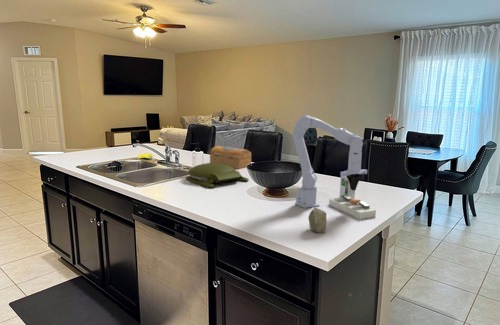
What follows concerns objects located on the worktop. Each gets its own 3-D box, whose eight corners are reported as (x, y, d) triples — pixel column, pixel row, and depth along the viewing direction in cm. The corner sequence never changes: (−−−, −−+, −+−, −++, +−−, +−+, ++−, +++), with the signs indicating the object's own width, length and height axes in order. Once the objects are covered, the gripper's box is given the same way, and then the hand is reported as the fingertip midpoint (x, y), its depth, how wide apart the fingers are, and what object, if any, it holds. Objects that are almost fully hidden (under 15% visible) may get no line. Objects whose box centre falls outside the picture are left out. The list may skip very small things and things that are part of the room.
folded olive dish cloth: (250, 181, 217) (250, 166, 215) (209, 189, 198) (209, 173, 196) (218, 172, 243) (218, 158, 241) (179, 178, 224) (179, 163, 222)
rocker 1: (356, 203, 161) (356, 200, 161) (349, 202, 165) (349, 199, 165) (360, 202, 162) (360, 199, 162) (354, 201, 166) (353, 199, 166)
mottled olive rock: (315, 239, 135) (312, 219, 131) (303, 229, 143) (300, 209, 138) (334, 229, 138) (332, 209, 134) (322, 219, 145) (319, 200, 141)
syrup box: (338, 198, 183) (340, 171, 180) (348, 197, 185) (350, 170, 182) (345, 201, 177) (347, 174, 175) (354, 200, 179) (356, 173, 177)
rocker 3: (347, 201, 167) (347, 198, 166) (341, 197, 170) (341, 194, 170) (351, 200, 168) (351, 198, 167) (345, 196, 171) (346, 194, 171)
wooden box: (252, 166, 263) (252, 148, 260) (238, 169, 251) (238, 151, 248) (224, 161, 282) (224, 144, 279) (209, 164, 270) (209, 146, 267)
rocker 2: (364, 208, 156) (365, 206, 156) (358, 204, 160) (358, 201, 159) (369, 207, 157) (369, 205, 157) (362, 203, 161) (363, 201, 160)
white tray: (359, 219, 152) (360, 212, 151) (329, 204, 172) (329, 198, 171) (375, 216, 156) (376, 209, 155) (343, 202, 175) (343, 196, 175)
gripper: (348, 164, 155) (346, 193, 157) (372, 161, 161) (370, 190, 163) (338, 161, 161) (336, 189, 163) (362, 159, 167) (360, 186, 170)
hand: (353, 189), depth 164 cm, fingers closed
